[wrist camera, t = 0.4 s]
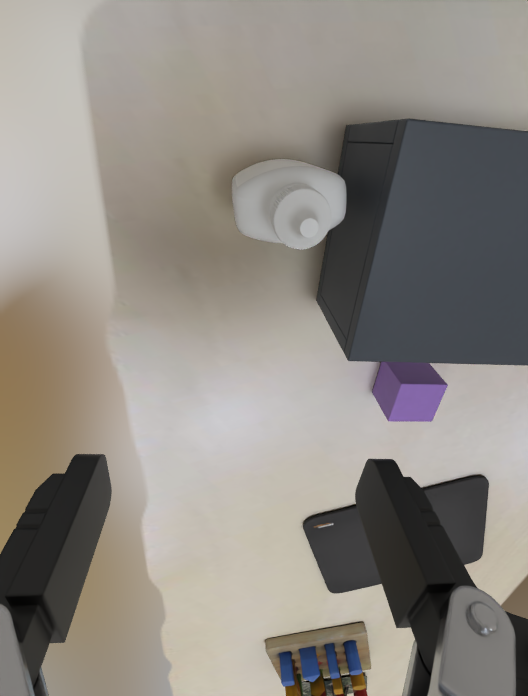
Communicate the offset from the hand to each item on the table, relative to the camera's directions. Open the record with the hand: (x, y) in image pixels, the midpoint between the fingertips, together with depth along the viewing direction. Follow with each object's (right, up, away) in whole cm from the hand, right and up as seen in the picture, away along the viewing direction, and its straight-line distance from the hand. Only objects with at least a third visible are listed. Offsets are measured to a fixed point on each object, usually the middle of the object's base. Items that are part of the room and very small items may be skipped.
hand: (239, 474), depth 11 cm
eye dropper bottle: (+1, +15, +12) cm, 19 cm away
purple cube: (+13, +1, +21) cm, 25 cm away
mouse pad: (+19, -22, +36) cm, 46 cm away
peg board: (+11, -52, +54) cm, 75 cm away
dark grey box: (+12, +13, +15) cm, 23 cm away
